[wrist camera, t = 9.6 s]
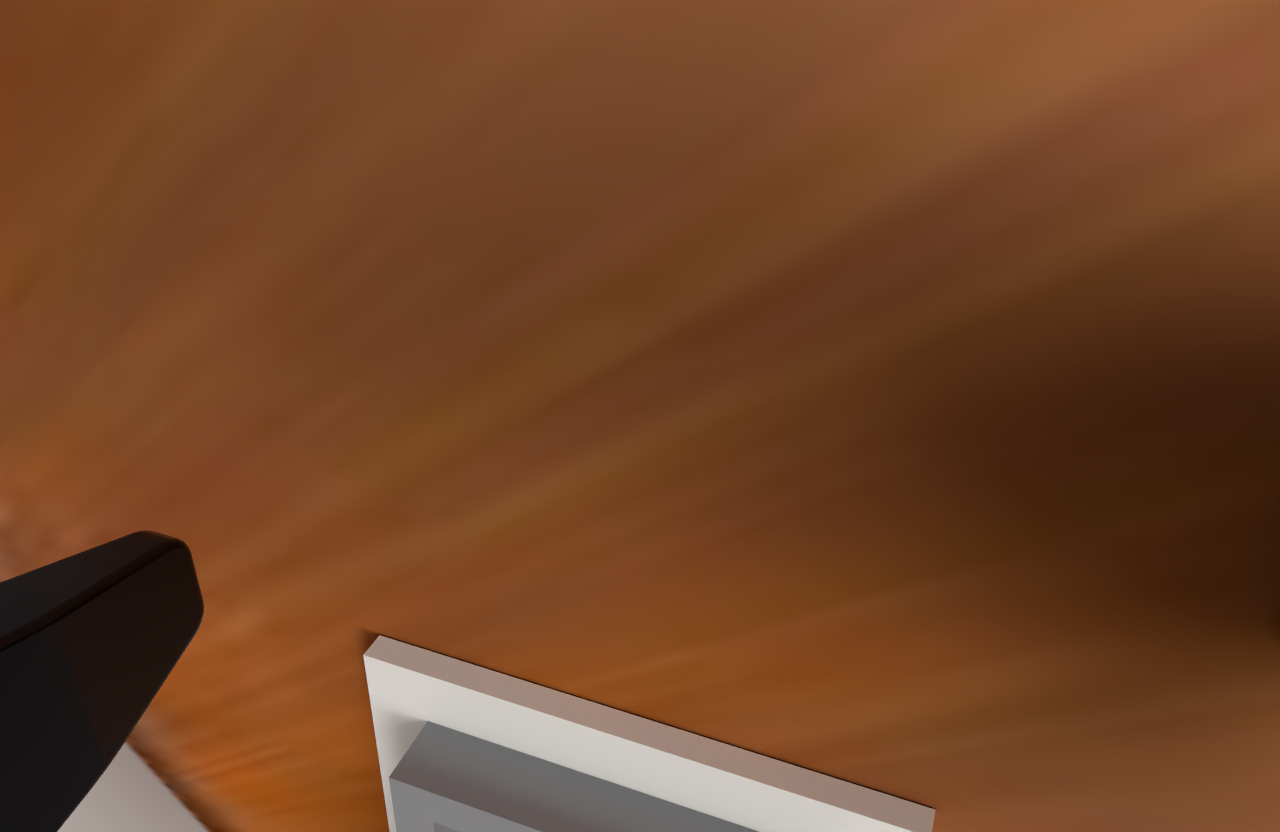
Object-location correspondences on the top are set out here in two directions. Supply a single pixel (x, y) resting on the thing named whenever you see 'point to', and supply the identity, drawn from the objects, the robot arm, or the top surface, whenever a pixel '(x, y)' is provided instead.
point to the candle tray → (581, 763)
